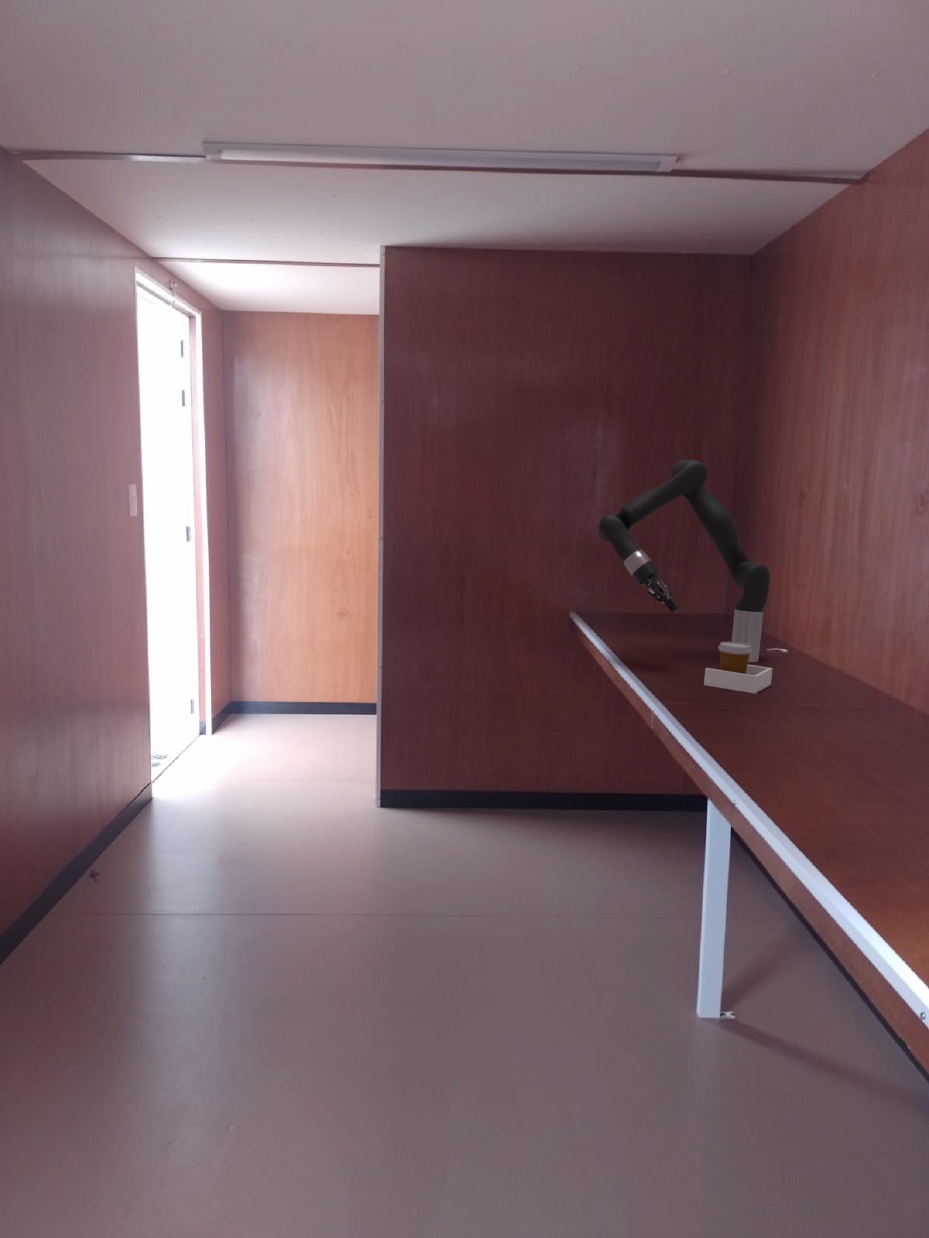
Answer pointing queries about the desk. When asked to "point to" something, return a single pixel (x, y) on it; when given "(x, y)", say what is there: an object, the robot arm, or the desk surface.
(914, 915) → the desk surface
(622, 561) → the robot arm
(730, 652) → the disposable coffee cup
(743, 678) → the grey bay
